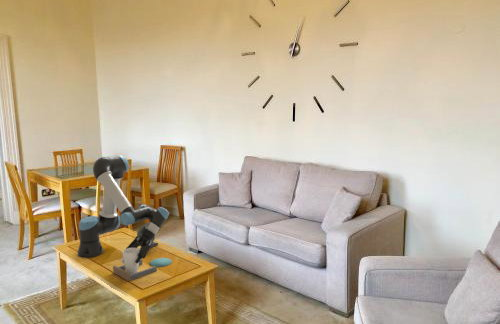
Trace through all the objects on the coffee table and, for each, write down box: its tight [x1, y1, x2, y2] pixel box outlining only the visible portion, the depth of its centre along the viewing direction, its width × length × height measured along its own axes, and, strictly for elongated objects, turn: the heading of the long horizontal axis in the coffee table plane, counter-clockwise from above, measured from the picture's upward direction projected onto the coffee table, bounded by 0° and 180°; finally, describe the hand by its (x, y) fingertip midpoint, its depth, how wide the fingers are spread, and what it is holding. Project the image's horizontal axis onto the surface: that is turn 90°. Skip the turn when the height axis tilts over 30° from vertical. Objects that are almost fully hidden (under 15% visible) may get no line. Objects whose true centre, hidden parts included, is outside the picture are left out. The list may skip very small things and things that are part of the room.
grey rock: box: [136, 221, 159, 251], centre depth 253 cm, size 14×15×18 cm
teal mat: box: [149, 257, 173, 268], centre depth 230 cm, size 13×13×1 cm
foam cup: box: [122, 247, 140, 275], centre depth 215 cm, size 10×9×13 cm
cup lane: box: [112, 258, 158, 282], centre depth 217 cm, size 16×18×4 cm
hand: (126, 265), depth 213 cm, fingers closed on foam cup, 9 cm apart
